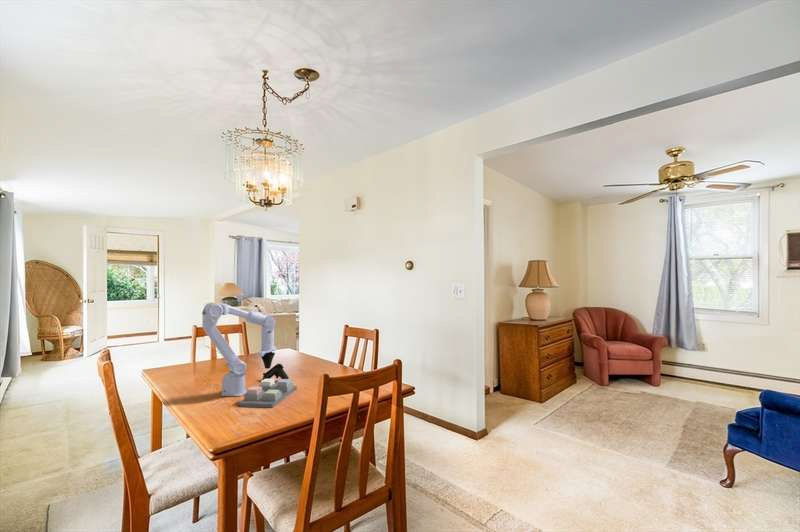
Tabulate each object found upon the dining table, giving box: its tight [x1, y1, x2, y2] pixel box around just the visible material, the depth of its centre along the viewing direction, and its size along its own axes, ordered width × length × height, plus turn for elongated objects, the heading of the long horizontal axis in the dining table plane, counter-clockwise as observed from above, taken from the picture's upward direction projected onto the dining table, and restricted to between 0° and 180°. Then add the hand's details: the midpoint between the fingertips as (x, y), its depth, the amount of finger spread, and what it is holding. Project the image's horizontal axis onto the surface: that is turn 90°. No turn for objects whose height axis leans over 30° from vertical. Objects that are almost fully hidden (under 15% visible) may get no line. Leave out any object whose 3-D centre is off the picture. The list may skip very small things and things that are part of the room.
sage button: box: [264, 390, 279, 395], centre depth 159 cm, size 5×5×2 cm
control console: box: [238, 382, 298, 408], centre depth 165 cm, size 15×25×4 cm, turn 173°
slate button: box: [276, 378, 292, 387], centre depth 171 cm, size 5×5×2 cm
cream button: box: [260, 378, 276, 386], centre depth 172 cm, size 5×5×2 cm
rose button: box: [246, 385, 262, 395], centre depth 160 cm, size 5×5×2 cm
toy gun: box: [262, 363, 290, 380], centre depth 191 cm, size 2×13×10 cm
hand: (267, 368), depth 179 cm, fingers closed
